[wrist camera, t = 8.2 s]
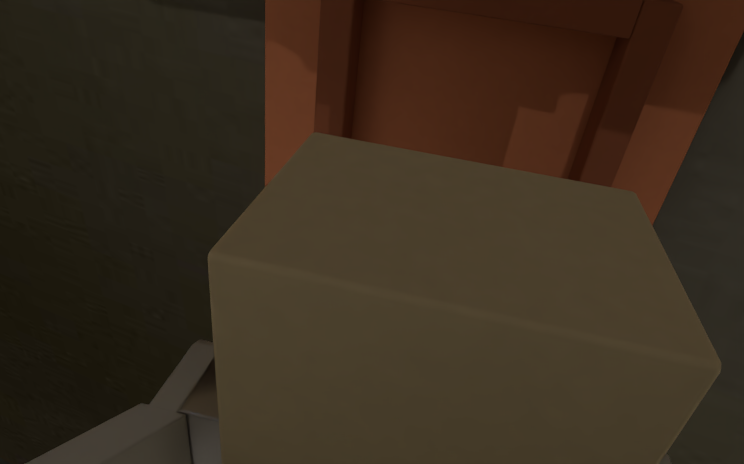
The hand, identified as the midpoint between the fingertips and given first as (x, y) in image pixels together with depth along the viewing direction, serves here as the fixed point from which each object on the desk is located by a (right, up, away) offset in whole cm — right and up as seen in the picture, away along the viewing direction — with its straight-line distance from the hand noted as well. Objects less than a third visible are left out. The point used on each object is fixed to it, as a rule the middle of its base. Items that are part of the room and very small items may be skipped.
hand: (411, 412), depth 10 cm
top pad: (0, +1, +1) cm, 2 cm away
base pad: (+2, +6, +10) cm, 11 cm away
